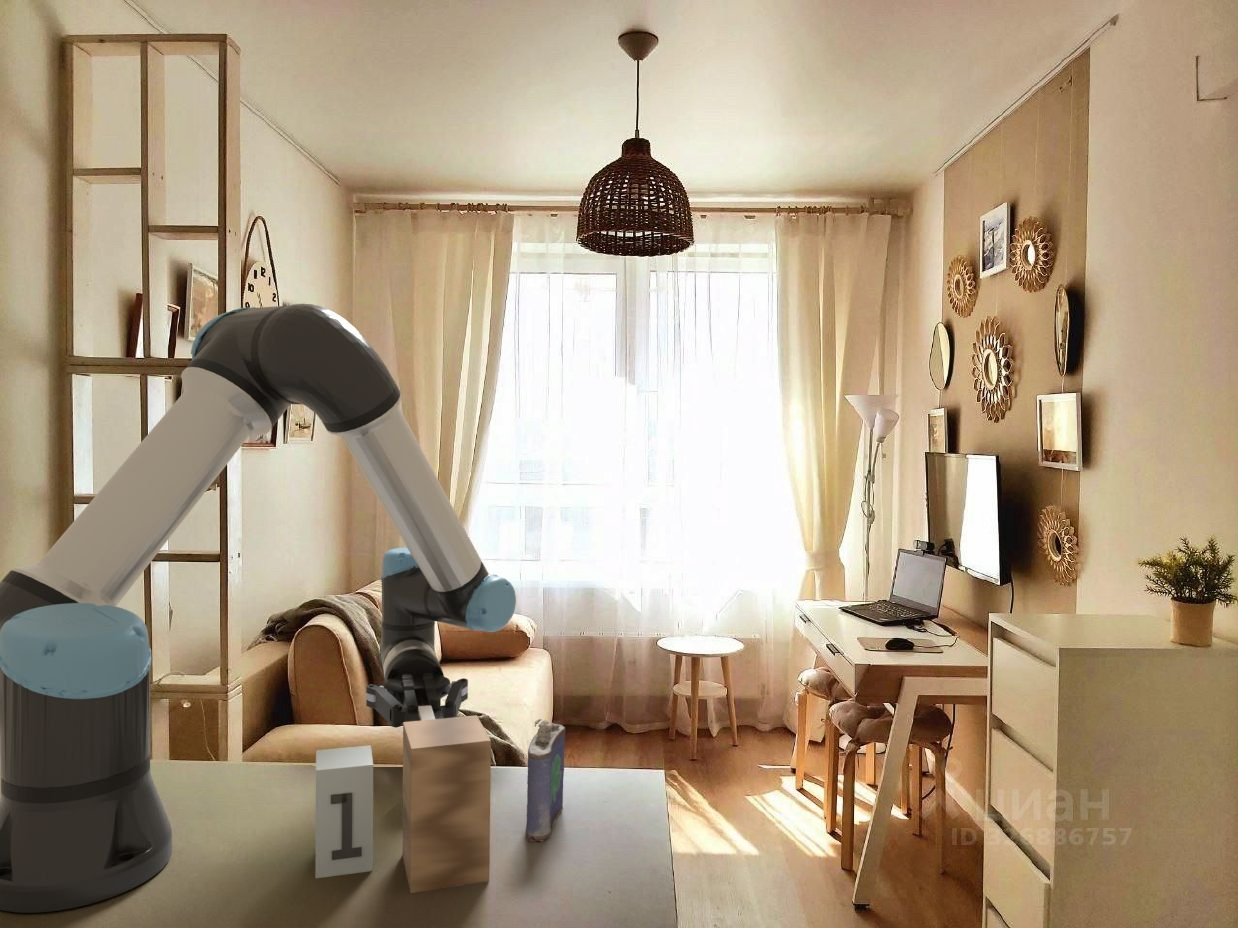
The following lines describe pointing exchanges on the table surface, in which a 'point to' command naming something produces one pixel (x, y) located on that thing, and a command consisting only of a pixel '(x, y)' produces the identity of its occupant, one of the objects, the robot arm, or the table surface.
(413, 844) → the plain block
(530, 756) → the flask
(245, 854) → the table surface
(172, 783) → the table surface
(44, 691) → the robot arm
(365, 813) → the number block
